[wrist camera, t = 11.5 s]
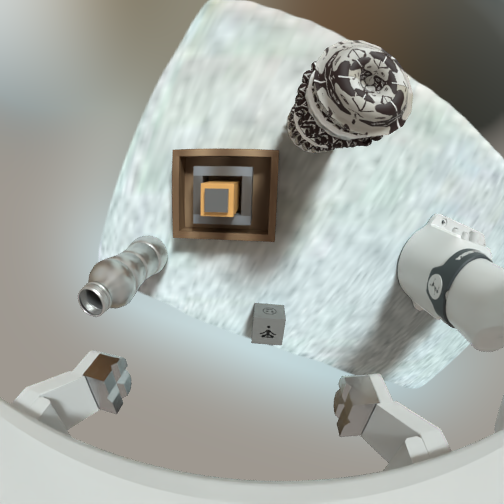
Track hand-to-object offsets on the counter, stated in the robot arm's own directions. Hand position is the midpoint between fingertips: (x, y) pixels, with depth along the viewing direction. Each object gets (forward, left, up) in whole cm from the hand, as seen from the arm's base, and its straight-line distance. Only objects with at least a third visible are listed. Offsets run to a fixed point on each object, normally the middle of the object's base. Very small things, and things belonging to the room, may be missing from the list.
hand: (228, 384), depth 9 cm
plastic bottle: (+17, +6, -36) cm, 40 cm away
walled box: (+5, -4, -36) cm, 36 cm away
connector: (+5, -4, -35) cm, 35 cm away
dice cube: (-3, +17, -36) cm, 40 cm away
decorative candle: (-8, -15, -36) cm, 40 cm away
